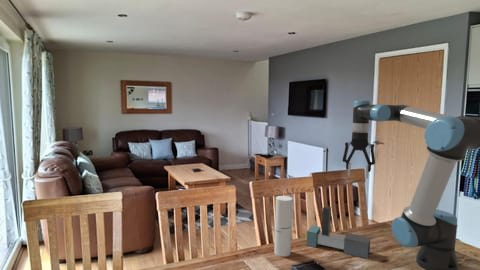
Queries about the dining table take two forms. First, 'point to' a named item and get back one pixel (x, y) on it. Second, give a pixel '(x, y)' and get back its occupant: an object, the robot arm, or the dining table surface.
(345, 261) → the dining table surface
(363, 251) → the matte charcoal box
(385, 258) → the dining table surface
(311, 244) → the socket block
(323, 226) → the gray bar with post
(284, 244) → the cylindrical container
